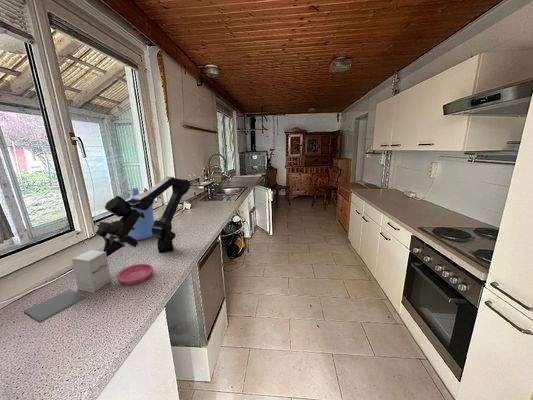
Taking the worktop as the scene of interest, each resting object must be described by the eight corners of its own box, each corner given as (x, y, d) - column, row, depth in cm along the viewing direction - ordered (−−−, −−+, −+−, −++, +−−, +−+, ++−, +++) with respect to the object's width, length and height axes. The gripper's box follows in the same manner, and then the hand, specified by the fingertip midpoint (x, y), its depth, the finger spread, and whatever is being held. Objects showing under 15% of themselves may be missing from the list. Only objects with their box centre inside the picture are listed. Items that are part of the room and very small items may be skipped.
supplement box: (94, 292, 80) (87, 260, 77) (77, 290, 81) (70, 258, 78) (111, 280, 87) (106, 251, 84) (96, 278, 88) (90, 249, 85)
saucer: (160, 275, 91) (159, 268, 91) (129, 291, 81) (128, 283, 80) (142, 266, 97) (141, 260, 97) (111, 281, 87) (110, 274, 86)
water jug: (147, 241, 123) (141, 191, 117) (119, 240, 124) (111, 191, 117) (160, 230, 138) (156, 186, 132) (136, 230, 139) (129, 186, 132)
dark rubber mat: (69, 290, 81) (69, 289, 81) (85, 298, 77) (85, 297, 77) (24, 311, 70) (23, 310, 70) (40, 322, 66) (39, 321, 66)
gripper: (96, 209, 90) (69, 245, 83) (126, 215, 83) (99, 255, 75) (118, 222, 99) (95, 255, 92) (147, 229, 92) (125, 265, 84)
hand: (103, 257), depth 86 cm, fingers closed
